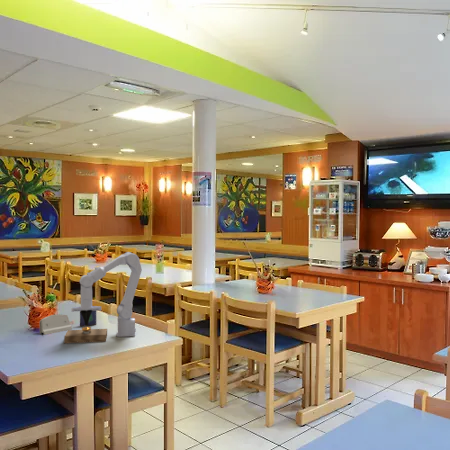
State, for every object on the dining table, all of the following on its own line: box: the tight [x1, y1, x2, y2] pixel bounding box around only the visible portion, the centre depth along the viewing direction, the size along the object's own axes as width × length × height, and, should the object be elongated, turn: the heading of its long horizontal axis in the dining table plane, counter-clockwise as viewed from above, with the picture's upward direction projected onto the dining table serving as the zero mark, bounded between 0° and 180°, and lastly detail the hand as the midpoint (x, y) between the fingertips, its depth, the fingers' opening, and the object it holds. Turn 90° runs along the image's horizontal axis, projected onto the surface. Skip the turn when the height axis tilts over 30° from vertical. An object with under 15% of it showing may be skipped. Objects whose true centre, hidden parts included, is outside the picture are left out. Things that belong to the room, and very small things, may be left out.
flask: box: [79, 311, 97, 327], centre depth 262 cm, size 9×3×11 cm, turn 112°
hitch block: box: [63, 328, 108, 344], centre depth 235 cm, size 20×12×4 cm, turn 101°
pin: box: [81, 326, 92, 334], centre depth 234 cm, size 4×4×6 cm
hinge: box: [39, 313, 73, 336], centre depth 250 cm, size 17×5×10 cm, turn 137°
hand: (86, 324), depth 234 cm, fingers closed
